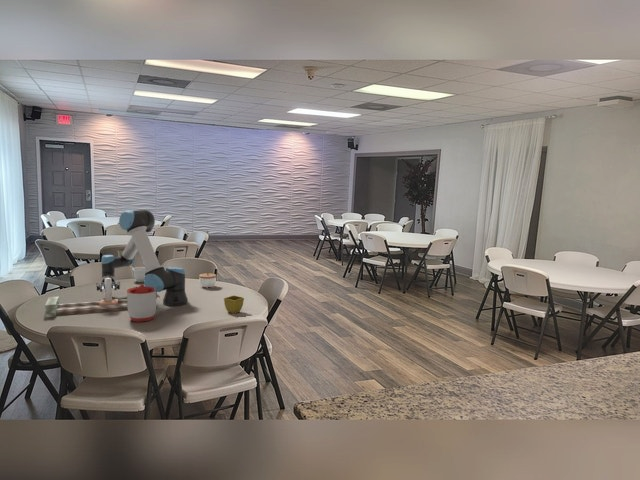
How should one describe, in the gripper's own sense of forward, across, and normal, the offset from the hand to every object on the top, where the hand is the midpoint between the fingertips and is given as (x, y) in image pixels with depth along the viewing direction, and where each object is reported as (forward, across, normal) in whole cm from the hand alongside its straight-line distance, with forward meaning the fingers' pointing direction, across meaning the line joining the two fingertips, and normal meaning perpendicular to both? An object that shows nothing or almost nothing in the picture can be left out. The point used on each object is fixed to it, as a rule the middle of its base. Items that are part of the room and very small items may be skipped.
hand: (108, 290), depth 254 cm
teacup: (-73, -23, -12) cm, 78 cm away
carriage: (-5, 0, -10) cm, 11 cm away
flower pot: (+26, -69, -12) cm, 74 cm away
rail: (-5, +8, -12) cm, 15 cm away
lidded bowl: (-42, -67, -12) cm, 80 cm away
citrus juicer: (+23, -18, -12) cm, 31 cm away
